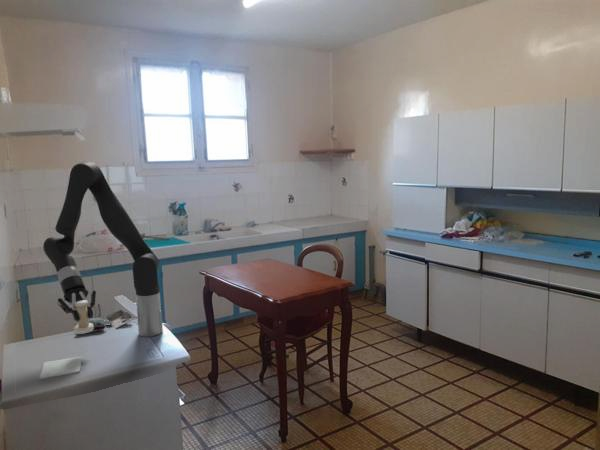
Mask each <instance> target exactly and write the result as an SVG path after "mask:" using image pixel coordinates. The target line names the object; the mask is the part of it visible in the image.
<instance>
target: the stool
mask: <svg viewBox="0 0 600 450" xmlns="http://www.w3.org/2000/svg"><path fill="white" fill-rule="evenodd" d="M87 300H88V299H87ZM87 300H80V301H77V302H75V303H74V304H75V306H76V310H77V312H78V315H79V317H80V320H79V321H78V322H77V323H78V325H77V324H76V325H75V326H74V329H73V330H74V334H78V335H81V334H82V335H84V334H87V333H92V332H91V331H92V330H93V329H94V327H93V324H92V323H89V317H88V311H87V304H88V302H89V301H87Z"/></svg>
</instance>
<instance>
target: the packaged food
mask: <svg viewBox="0 0 600 450" xmlns="http://www.w3.org/2000/svg"><path fill="white" fill-rule="evenodd" d="M88 319H89V318H88ZM106 322H108V321H107V319H105V318H104V319H103V318H101V317H91V318H90V319H89V323H92V324H93V327H94V329H93V330H92V331H91V332H90V333H93V332H98V331H101V330H104V329H107V326H106V324H105V323H106ZM77 325H78V322H77V323H76V326H77Z"/></svg>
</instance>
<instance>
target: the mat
mask: <svg viewBox="0 0 600 450" xmlns="http://www.w3.org/2000/svg"><path fill="white" fill-rule="evenodd" d="M82 359H83V356H74V357H69V358H62V359H58V360H51V361H44V362H43V366H42V368H41V371H40V375H39V380H45V379H49V378H54V377H62V376H66V375H72V374H77V373H78V374H79V373H81V368H82V367H81V366H82V361H83V360H82Z"/></svg>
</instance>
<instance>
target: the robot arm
mask: <svg viewBox="0 0 600 450" xmlns="http://www.w3.org/2000/svg"><path fill="white" fill-rule="evenodd" d="M88 190H89V191H90V193H91V194H92V195H93V197H94V199H95V201H96V204H97V208H98V212H99V215H100V217H101V219H102V221H103V224H104V225H105V226H106V228H107V229H108V231H109V232H110V234H112V236H113V237H114V238H116V240H117V241H118V242H120V243H121V244H122V245H123V246H124V247H125V248H126V250H127V251H128V252H129V254H130V255H131V257H132V259H133V262H132V263H133V264H132V278H133V286H134V289H135V297H136V298H135V299H136V310H137V311H136V313H137V326H138V329H137V331H138V335H139V337H147V338H149V337H154V336H155V337H156V336H158V335H160V333H161V334H163V333H164V332H163V331H164V330H163V329H164V328H163V316H162V313H163V312H162V308H161V306H162V305H161V292H160V291H161V290H160V285H159V280H158V279H159V278H158V269H159V267H160V266H159V265H160V261H159V259H158V256H157V255H156V254H155V253H154V251H153V250H152V249H151V248H150V247H149V245H148V244H147V242H146V241H145V240H144V239H143V237H142V236H141V233H140V232H139V229H138V228H137V226H136V225H135V223H134V222H133V220H132V218H131V217H130V216H129V214H128V212H127V210H126V209H125V208H124V206H123V204H122V203H121V202H120V201H119V199H118V197H117V196H116V194H115V193H114V192H113V190H112V188H111V187H110V184H109V183H108V181H107V179H106V177H105V175H104V173H103V171H102V169H101V168H100V167H99V166H98V164H97V163H94V162H92V161H83V162H80V163H77V164H74V165H73V166H72V168H71V169H70V173H69V178H68V185H67V189H66V194H65V198H64V202H63V206H62V209H61V211H60V215H59V216H58V218H57V222H56V224H55V227H54V228H55V231H56V232H57V233H58V234H59V235H63V237H54V236H52V237H51V236H50V237H47V238H46V239H45V240H44V242H43V252H44V254H45V255H46V257H47V258H48V259H49V260H50V262H51V263H52V264H53V265H54V267H55V271H56V273H57V278H58V282H59V285H60V287H61V290H62V293H63V297H59V298H58V299H57V303H56V304H57V306H59V307H60V308H61V310H63V312H65V314H72V317H73V320H74V321H75V322H77V323H78V321H79V320H80V317H79V315H78V312H77V310H76V306H75V304H74V303H75V302H77V301H80V300H87V301H88V299H87V298H88V297H89V298H90V299H91V300H90V302H89V301H88V304H87V311H88V319H91V318H93V315H94V313H93V310H92V308H94V307H95V303H96V295H97V291H96V290H92V291H89V290H88V289H86V285H85V283H84V280H83V277H82V275H81V273H80V270H79V269H78V266H77V264H76V262H75V261H76V260H75V259H74V257H73V256H71V253H73V251H74V249H75V237H76V236H75V234H76V230H77V227H78V224H79V222H80V220H81V219H80V218H81V215H82V205H83V200H84V197H85V195H86V193H87V191H88ZM66 302H67V303H69V304H70V306H69V305H68V304H67V303H66Z"/></svg>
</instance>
